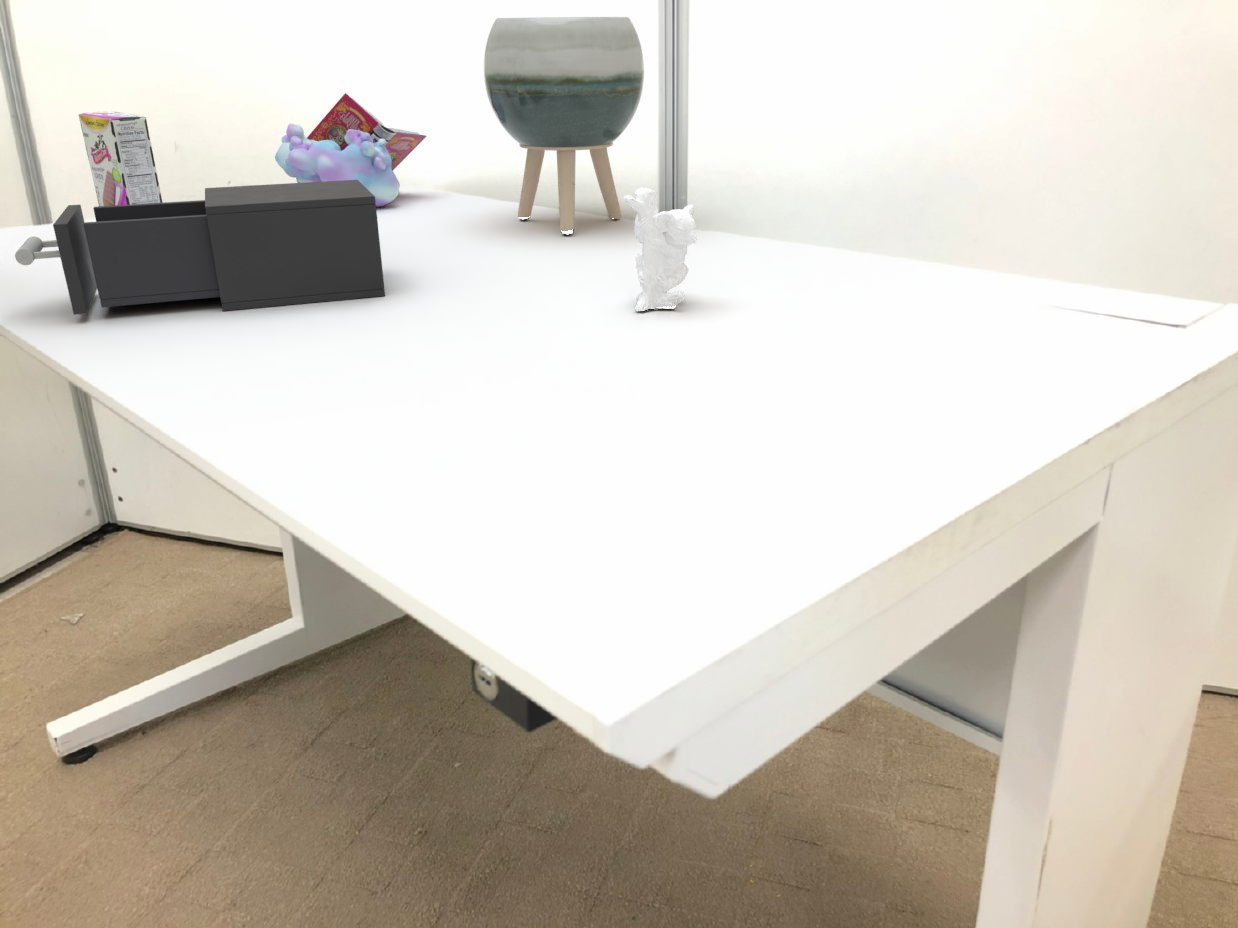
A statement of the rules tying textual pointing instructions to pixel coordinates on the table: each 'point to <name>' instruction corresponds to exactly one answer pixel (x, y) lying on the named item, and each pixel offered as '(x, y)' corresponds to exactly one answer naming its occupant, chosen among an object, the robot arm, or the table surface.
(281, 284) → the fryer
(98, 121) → the candy bar box
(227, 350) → the table surface
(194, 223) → the drawer
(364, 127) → the pastel bubbly blob
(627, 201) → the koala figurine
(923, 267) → the table surface
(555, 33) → the planter
